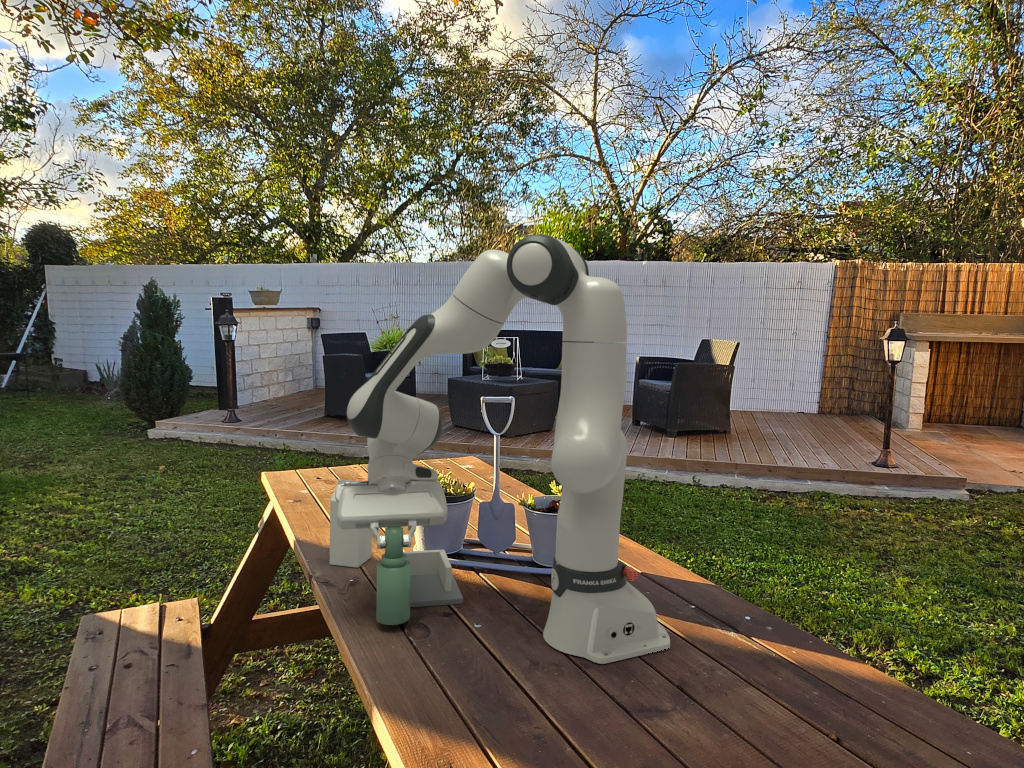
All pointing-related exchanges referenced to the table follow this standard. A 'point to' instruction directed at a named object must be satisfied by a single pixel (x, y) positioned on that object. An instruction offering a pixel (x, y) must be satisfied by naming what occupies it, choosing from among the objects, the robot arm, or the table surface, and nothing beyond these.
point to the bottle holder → (432, 579)
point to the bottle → (393, 580)
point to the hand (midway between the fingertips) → (394, 546)
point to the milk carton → (347, 540)
